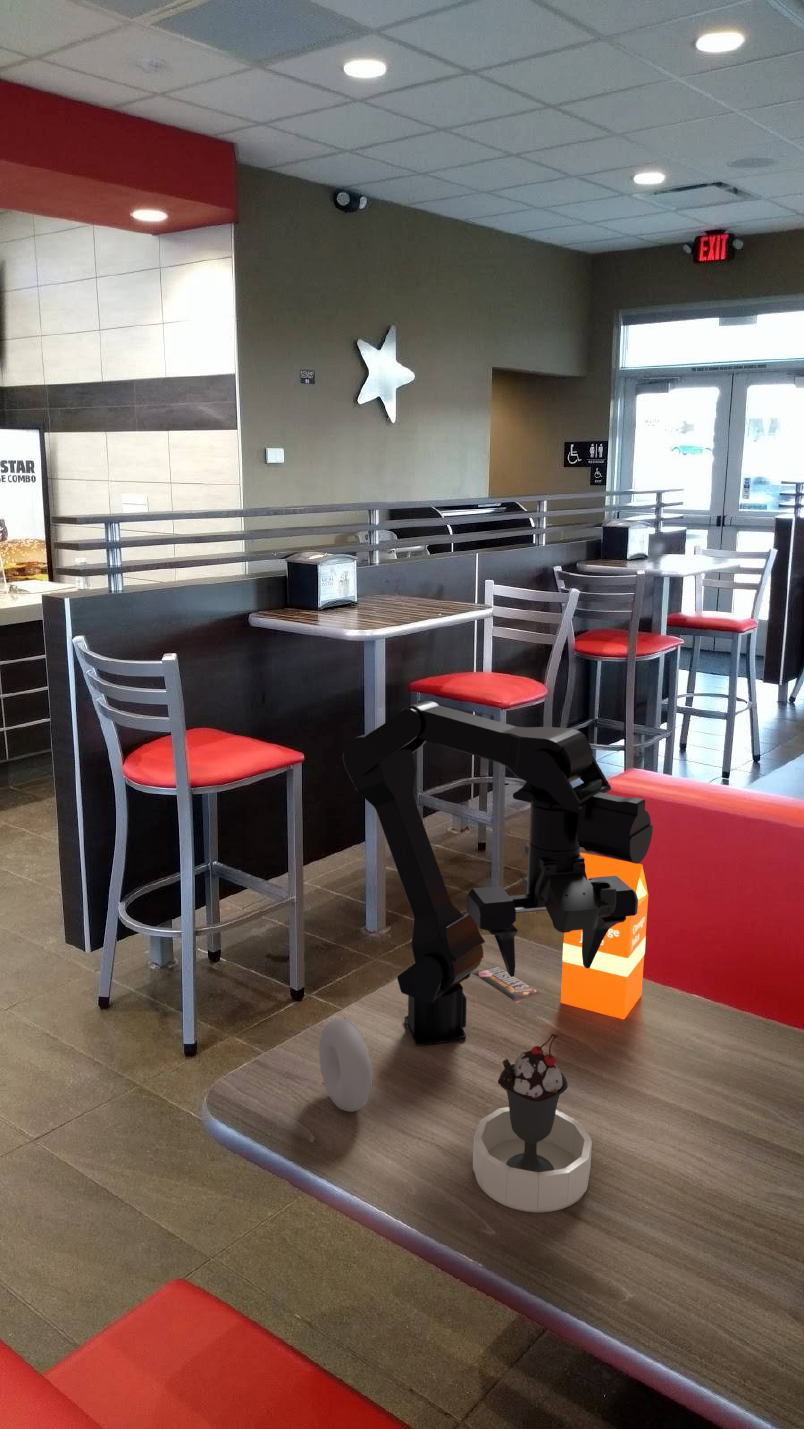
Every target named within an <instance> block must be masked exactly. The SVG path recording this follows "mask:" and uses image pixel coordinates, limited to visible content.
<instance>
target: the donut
mask: <svg viewBox="0 0 804 1429" xmlns="http://www.w3.org/2000/svg"><path fill="white" fill-rule="evenodd" d="M318 1045H319V1047H318V1054H319V1055H318V1056H319V1065H320V1071H321V1076H322V1081H323V1083H324V1087H325V1090H326V1093H328V1095H329V1097H330V1099H331V1100H332V1102H333V1103H334V1105H335V1106H336V1107H338V1108H339V1109H340V1110H343V1111H346V1112H351V1113H352V1112H356V1111H359V1110H360V1109H361V1108H362V1107H363V1106H364V1105H366V1103H367V1102H368V1100H369V1098H370V1094H371V1092H372V1083H373V1070H372V1062H371V1056H370V1053H369V1052H370V1051H369V1049H368V1045H367V1043H366V1040H365V1039H364V1035H363V1034H362V1033H361V1030H360V1029H359V1027H358V1026H357V1025H356V1024H355V1023H353V1022H352V1021H351V1020H350V1019H348V1018H344V1017H343V1018H341V1017H340V1018H333V1019H331V1020H330V1021H328V1022H327V1024H326V1025H325V1026H324V1027H323V1029H322V1030H321V1035H320V1039H319V1044H318Z"/></svg>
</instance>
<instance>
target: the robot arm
mask: <svg viewBox="0 0 804 1429" xmlns="http://www.w3.org/2000/svg"><path fill="white" fill-rule="evenodd" d="M426 742H428V743H432V744H435V745H438V746H442V747H446V748H448V749H451V750H455V751H458V752H461V753H464V754H465V753H466V754H468V755H472V756H475V757H479V758H481V759H485V760H489V761H491V762H495V763H498V764H501V765H502V766H505V767H506V768H507V769H508V770H509V771H511V773H513V775H514V776H515V777H516V778H518V779H520V780H521V781H524V782H525V783H524V784H523V786H522V787H520V788H519V789H518V790H517V791H514V792H513V794H512V798H513V799H514V800H517V801H521V802H525V803H530V805H529V806H530V810H529V835H528V836H529V838H528V843H525V844H524V853H525V854H526V855H527V856H528V857H527V877H523V887H524V888H525V890H526V894H517V895H509V894H508V893H507V891H506V890H505V889H504V888H503V887H502V886H501V885H495V886H494V885H493V886H483V887H482V886H481V887H473V888H471V890H470V891H469V892H468V894H467V895H466V902H465V904H466V906H465V911H466V912H467V913H466V914H463V913H462V912H461V911H460V910H459V909H458V908H457V907H456V906H454V904H453V903H452V901H451V897H450V895H449V892H448V890H447V886H446V883H445V881H444V878H443V876H442V872H441V870H440V867H439V865H438V862H437V858H436V856H435V853H434V851H433V848H432V845H431V841H430V839H429V836H428V834H427V831H426V828H425V824H424V823H423V822H424V821H423V819H422V816H421V813H420V811H419V808H418V804H417V802H416V799H415V796H414V789H415V788H414V786H415V777H416V765H415V760H414V754H413V753H415V752H416V751H417V750H419V749H420V748H421V747H423V746H425V744H426ZM342 754H343V755H342V760H343V765H344V767H345V771H346V773H347V774H348V775H349V778H350V780H351V782H352V783H353V786H354V788H355V790H356V791H357V793H359V795H361V796H362V797H363V798H364V799H365V800H366V801H367V802H368V803H369V804H370V805H372V806H373V808H374V809H375V812H376V814H377V817H378V820H379V822H380V826H381V828H382V831H383V834H384V837H385V839H386V842H387V845H388V847H389V851H390V853H391V857H392V859H393V862H394V866H395V867H396V870H397V873H398V876H399V879H400V882H401V884H402V887H403V890H404V893H405V896H406V899H407V902H408V904H409V908H410V910H411V913H412V915H413V916H412V917H413V925H412V936H411V943H410V944H411V949H412V954H413V958H414V959H413V960H414V963H413V964H412V965H411V966H409V967H408V968H407V969H405V970H403V972H401V973H400V974H398V975H397V978H396V979H397V982H398V986H399V990H400V993H401V994H403V995H406V996H407V997H408V998H407V999H408V1002H407V1007H408V1008H407V1009H408V1010H407V1015H405V1016H404V1018H403V1019H404V1021H403V1022H405V1025H406V1027H407V1030H408V1032H409V1034H410V1035H411V1038H412V1039H413V1042H414V1044H415V1045H417V1046H422V1045H431V1044H440V1043H447V1042H456V1041H465V1040H466V1039H467V1034H466V1032H465V1030H464V1029H465V1028H466V1026H467V1006H468V1004H467V1002H468V1000H467V996H466V995H465V993H464V987H463V986H462V984H461V983H462V982H463V981H465V980H468V979H469V978H470V976H471V975H472V973H473V972H475V970H476V969H477V968H478V967H479V966H480V965H481V962H482V960H483V958H484V949H483V944H484V943H486V940H485V939H484V938H483V936H482V935H481V933H480V931H479V929H480V930H484V931H488V932H489V934H491V936H492V935H493V936H494V938H495V940H496V944H497V946H498V948H499V951H500V955H501V957H502V960H503V963H504V965H505V968H506V972H508V974H509V975H510V977H515V971H516V953H515V952H516V951H515V950H516V948H515V947H516V946H515V937H516V935H517V934H518V929H517V928H516V926H515V925H514V923H515V922H516V921H517V914H519V913H530V912H532V913H533V912H540V911H546V912H547V914H548V915H549V918H550V919H551V921H552V925H553V928H554V929H555V930H556V931H557V932H559V933H563V934H564V933H568V932H570V931H574V930H582V959H583V965H584V967H585V968H590V966H591V964H592V962H593V960H594V958H595V955H596V953H597V951H598V949H599V947H600V945H601V943H602V941H603V939H604V937H605V935H606V934H607V932H608V930H609V929H610V928H611V927H613V926H614V925H616V924H618V923H621V922H624V921H625V920H626V916H635V915H636V914H637V911H638V897H637V894H636V892H635V891H634V890H633V889H632V888H630V887H629V886H628V885H627V884H626V883H625V882H623V881H622V880H621V879H620V878H619V877H618V876H604V877H593V878H589V879H587V875H586V872H585V863H584V862H585V858H584V857H582V856H581V855H580V853H581V848H582V849H584V851H585V852H587V853H588V854H592V855H596V856H601V857H606V858H611V859H616V860H621V861H626V862H630V863H634V864H641V862H642V861H643V860H644V859H645V857H646V856H647V854H648V851H649V849H650V845H651V842H652V838H653V832H654V831H653V826H654V825H653V824H652V821H651V816H650V814H649V812H648V811H647V810H646V800H645V799H644V798H639V797H626V796H620V795H615V794H612V793H608V792H610V791H611V790H612V787H611V784H610V783H609V781H608V780H607V778H606V776H605V774H604V773H603V771H602V769H601V767H600V766H599V764H598V763H597V761H596V759H595V757H594V755H593V754H594V753H593V749H592V746H591V743H590V742H589V741H588V739H587V736H586V734H584V733H583V732H582V731H580V730H577V729H576V728H569V727H567V728H566V727H556V726H555V727H554V726H553V727H552V726H534V727H531V726H529V727H527V726H526V727H525V726H515V725H512V724H508V723H504V722H501V721H498V720H494V719H491V718H487V717H483V716H479V715H476V714H473V713H469V712H466V711H462V710H461V711H460V710H459V709H454V708H451V707H446V706H443V705H440V704H439V703H437V702H434V701H432V700H424V701H421V702H417V703H413V704H411V705H407V706H405V707H404V708H402V710H401V711H400V712H398V713H397V714H396V715H395V716H394V717H392V718H391V719H389V720H388V721H387V722H385V723H383V724H382V725H380V726H378V727H377V728H375V729H374V730H373V731H370V732H369V733H366V734H363V735H359V736H357V737H356V736H355V737H354V738H352V739H351V740H349V742H348V743H347V744H346V746H345V750H344V752H343V753H342ZM578 779H580V780H581V781H582V783H580V784H578V785H576V786H574V787H573V785H572V784H571V783H572V782H574V781H576V780H578Z"/></svg>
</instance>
